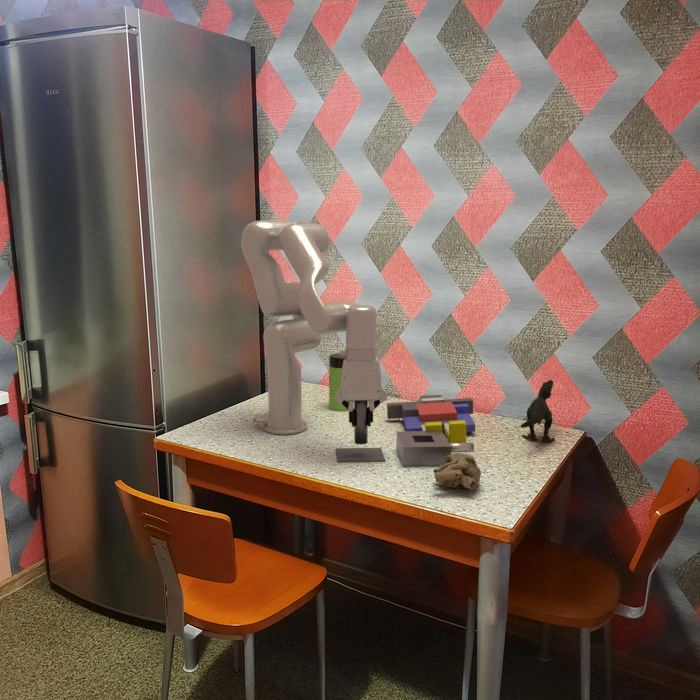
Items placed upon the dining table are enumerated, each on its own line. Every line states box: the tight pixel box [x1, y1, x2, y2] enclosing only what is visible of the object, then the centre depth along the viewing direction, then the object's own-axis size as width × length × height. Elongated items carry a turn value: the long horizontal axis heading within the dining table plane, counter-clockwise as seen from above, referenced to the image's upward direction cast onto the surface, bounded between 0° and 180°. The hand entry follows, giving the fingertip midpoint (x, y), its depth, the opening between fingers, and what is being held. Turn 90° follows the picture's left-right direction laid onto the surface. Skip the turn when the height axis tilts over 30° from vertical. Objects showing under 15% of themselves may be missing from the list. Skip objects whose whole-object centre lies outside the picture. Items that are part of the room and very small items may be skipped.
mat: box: [335, 447, 386, 463], centre depth 165 cm, size 12×9×1 cm
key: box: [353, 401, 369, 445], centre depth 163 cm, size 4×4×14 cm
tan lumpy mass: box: [433, 452, 482, 490], centre depth 146 cm, size 7×11×15 cm
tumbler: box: [328, 352, 348, 412], centre depth 205 cm, size 8×8×17 cm
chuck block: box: [395, 430, 475, 468], centre depth 164 cm, size 19×12×5 cm, turn 94°
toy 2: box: [520, 379, 556, 444], centre depth 175 cm, size 9×28×15 cm, turn 151°
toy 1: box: [386, 394, 476, 443], centre depth 186 cm, size 26×9×30 cm
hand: (360, 424), depth 163 cm, fingers closed on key, 3 cm apart
